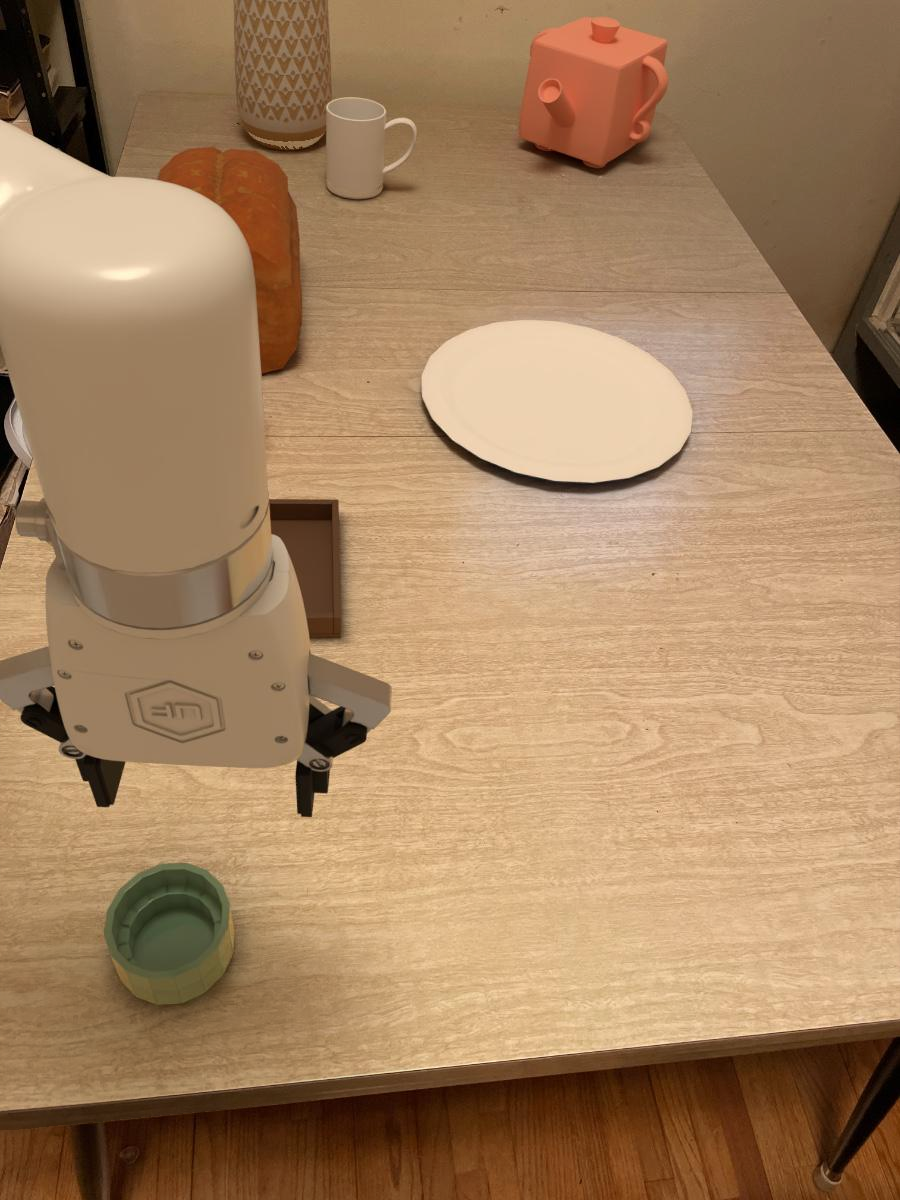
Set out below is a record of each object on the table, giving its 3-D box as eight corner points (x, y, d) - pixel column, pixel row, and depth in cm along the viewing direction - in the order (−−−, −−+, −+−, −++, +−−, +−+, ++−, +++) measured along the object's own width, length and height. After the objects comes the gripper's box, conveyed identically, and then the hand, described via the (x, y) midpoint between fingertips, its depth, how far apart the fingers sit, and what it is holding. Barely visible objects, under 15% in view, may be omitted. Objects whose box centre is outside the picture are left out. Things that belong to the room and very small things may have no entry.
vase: (219, 133, 143) (198, -120, 120) (287, 111, 150) (279, -130, 128) (283, 165, 137) (274, -94, 115) (350, 141, 145) (354, -106, 123)
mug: (323, 197, 132) (322, 116, 124) (329, 172, 137) (329, 94, 129) (411, 206, 132) (416, 127, 125) (414, 181, 138) (419, 104, 130)
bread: (298, 253, 121) (295, 121, 109) (305, 376, 103) (302, 235, 91) (165, 250, 118) (147, 115, 106) (148, 376, 100) (125, 230, 89)
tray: (122, 640, 76) (117, 619, 74) (144, 519, 86) (140, 497, 84) (340, 637, 78) (341, 617, 77) (338, 519, 88) (338, 499, 86)
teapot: (600, 202, 138) (628, 68, 125) (468, 155, 146) (481, 23, 133) (670, 151, 154) (701, 27, 141) (547, 110, 161) (567, -12, 148)
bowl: (109, 1011, 57) (95, 981, 54) (125, 898, 62) (113, 865, 59) (231, 1003, 58) (225, 974, 55) (237, 893, 63) (232, 860, 60)
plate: (514, 303, 117) (516, 290, 116) (732, 400, 107) (737, 387, 106) (363, 409, 100) (363, 396, 98) (607, 536, 90) (611, 523, 88)
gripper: (-114, 597, 32) (10, 846, 45) (398, 628, 34) (380, 863, 46) (-37, 457, 38) (55, 716, 50) (405, 488, 39) (388, 734, 51)
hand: (211, 786), depth 48 cm, fingers open, 9 cm apart
